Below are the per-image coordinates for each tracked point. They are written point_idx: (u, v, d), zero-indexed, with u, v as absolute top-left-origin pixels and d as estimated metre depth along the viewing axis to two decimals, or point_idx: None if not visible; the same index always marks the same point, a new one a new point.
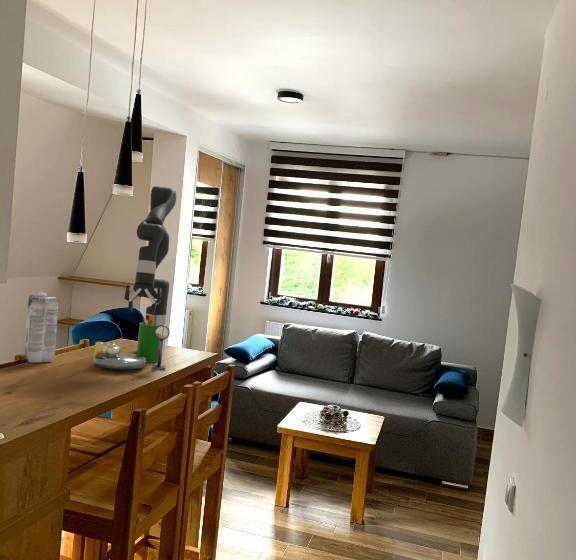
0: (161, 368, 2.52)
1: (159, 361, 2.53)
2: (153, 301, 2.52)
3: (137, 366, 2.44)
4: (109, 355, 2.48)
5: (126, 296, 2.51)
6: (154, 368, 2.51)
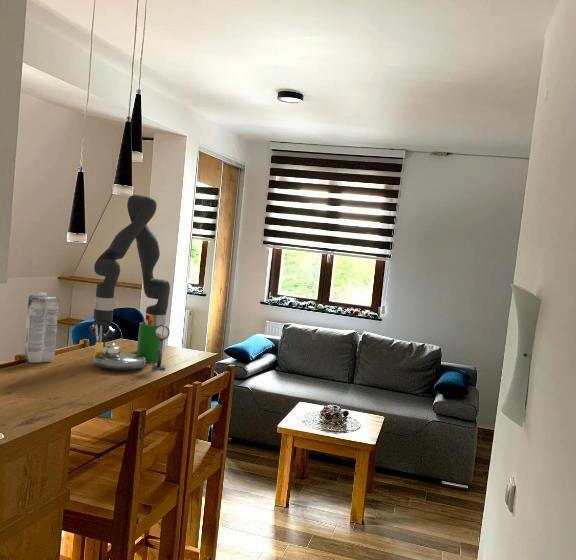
0: (161, 368, 2.52)
1: (159, 361, 2.53)
2: (100, 339, 2.52)
3: (137, 366, 2.44)
4: (109, 355, 2.48)
5: (94, 336, 2.53)
6: (154, 368, 2.51)
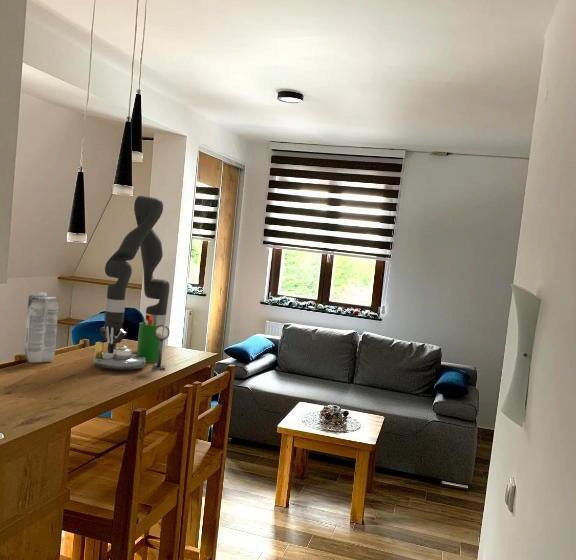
0: (161, 368, 2.52)
1: (159, 361, 2.53)
2: (111, 341, 2.49)
3: (137, 366, 2.44)
4: (121, 358, 2.45)
5: (105, 338, 2.51)
6: (154, 368, 2.51)
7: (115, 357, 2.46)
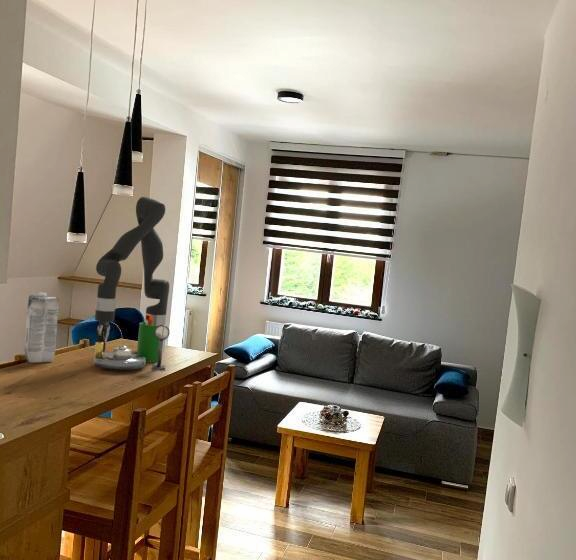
0: (161, 368, 2.52)
1: (159, 361, 2.53)
2: None
3: (137, 366, 2.44)
4: (121, 358, 2.45)
5: None
6: (154, 368, 2.51)
7: (115, 357, 2.46)
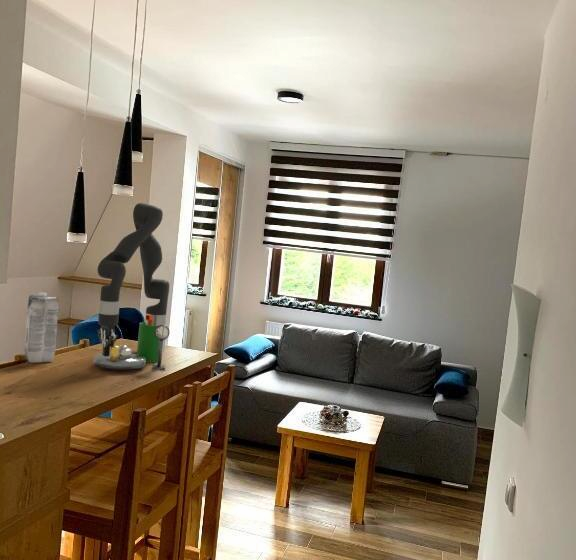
0: (161, 368, 2.52)
1: (159, 361, 2.53)
2: (104, 344, 2.41)
3: None
4: (129, 357, 2.48)
5: (101, 340, 2.44)
6: (154, 368, 2.51)
7: (124, 357, 2.47)
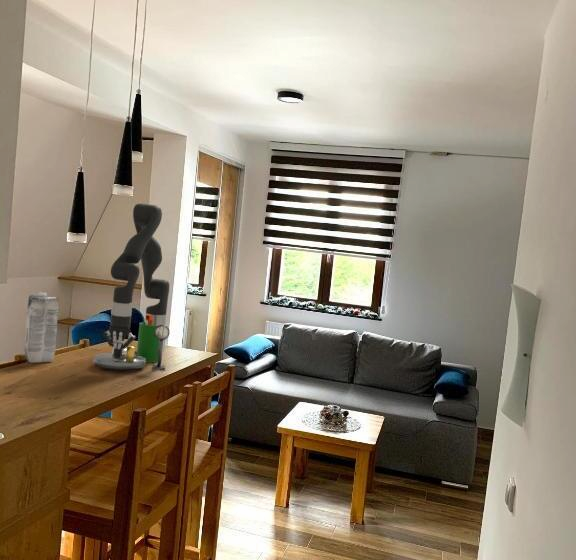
0: (161, 368, 2.52)
1: (159, 361, 2.53)
2: (119, 346, 2.40)
3: None
4: None
5: (111, 343, 2.40)
6: (154, 368, 2.51)
7: None
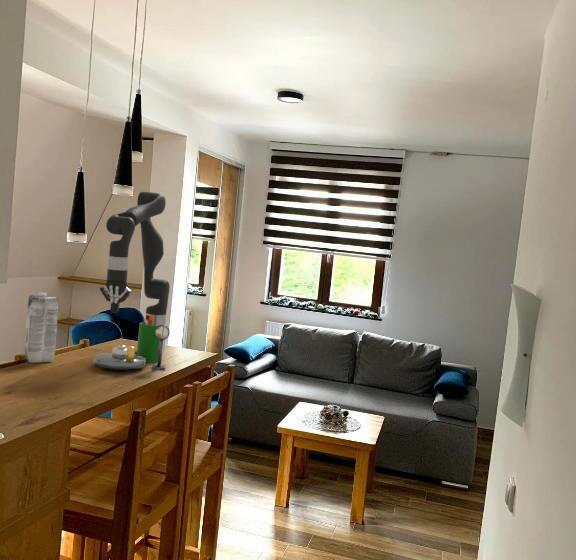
0: (161, 368, 2.52)
1: (159, 361, 2.53)
2: (116, 301, 2.41)
3: None
4: None
5: (108, 297, 2.41)
6: (154, 368, 2.51)
7: None
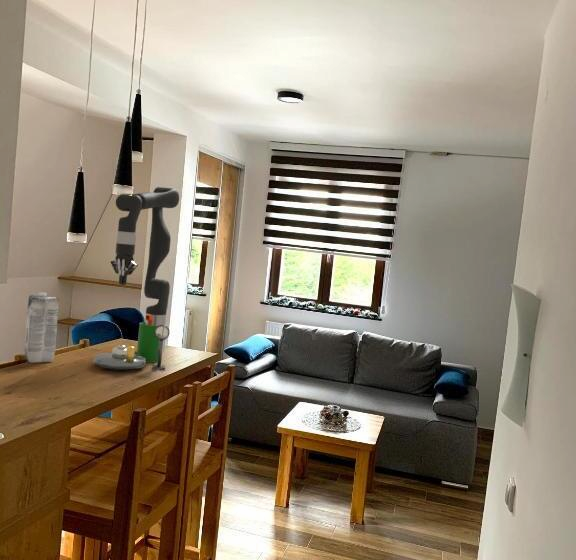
0: (161, 368, 2.52)
1: (159, 361, 2.53)
2: (123, 273, 2.57)
3: None
4: None
5: (116, 270, 2.58)
6: (154, 368, 2.51)
7: None
